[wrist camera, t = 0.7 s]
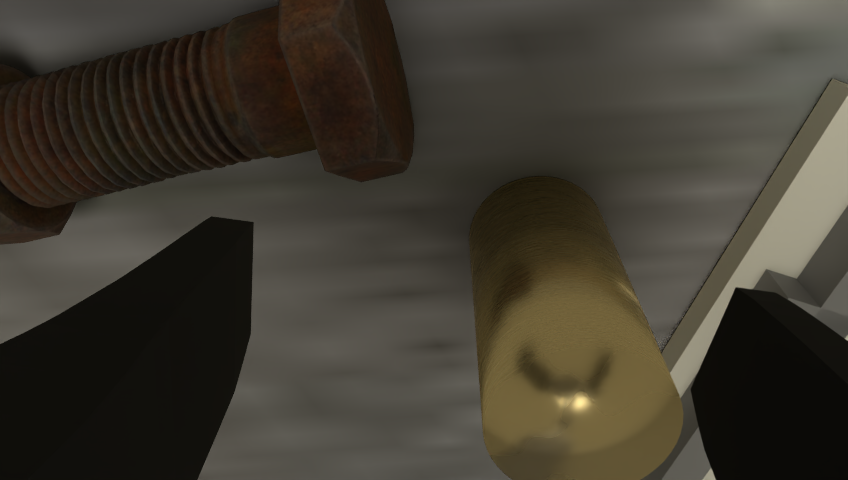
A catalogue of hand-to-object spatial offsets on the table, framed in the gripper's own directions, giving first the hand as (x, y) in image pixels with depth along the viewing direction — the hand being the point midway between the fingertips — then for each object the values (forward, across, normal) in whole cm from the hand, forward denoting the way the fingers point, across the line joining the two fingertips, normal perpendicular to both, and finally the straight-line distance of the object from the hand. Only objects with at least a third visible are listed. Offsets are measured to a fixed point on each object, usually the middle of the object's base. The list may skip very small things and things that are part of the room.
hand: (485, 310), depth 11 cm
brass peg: (+10, -3, +4) cm, 11 cm away
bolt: (+10, +9, +2) cm, 14 cm away
